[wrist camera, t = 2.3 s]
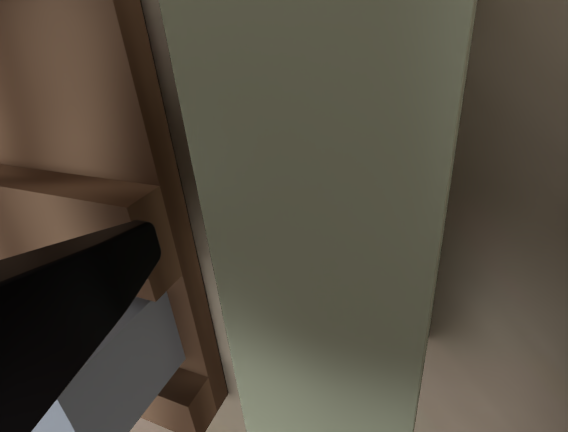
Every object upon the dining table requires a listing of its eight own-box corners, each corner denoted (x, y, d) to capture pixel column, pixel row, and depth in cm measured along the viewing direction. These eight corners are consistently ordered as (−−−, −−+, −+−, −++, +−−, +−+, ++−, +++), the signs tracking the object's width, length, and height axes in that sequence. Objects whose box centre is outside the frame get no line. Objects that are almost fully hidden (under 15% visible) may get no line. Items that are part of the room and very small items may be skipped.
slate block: (165, 286, 15) (54, 395, 11) (185, 358, 17) (97, 472, 13) (-3, 244, 19) (-129, 314, 15) (30, 306, 21) (-75, 383, 17)
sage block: (294, -12, 9) (157, -1, 5) (481, -28, 8) (477, -28, 4) (312, 306, 14) (246, 432, 10) (428, 334, 13) (403, 494, 9)
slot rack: (110, -134, 10) (12, -162, 8) (228, 394, 19) (198, 441, 17) (-146, -68, 14) (-247, -74, 12) (54, 332, 24) (16, 364, 22)
